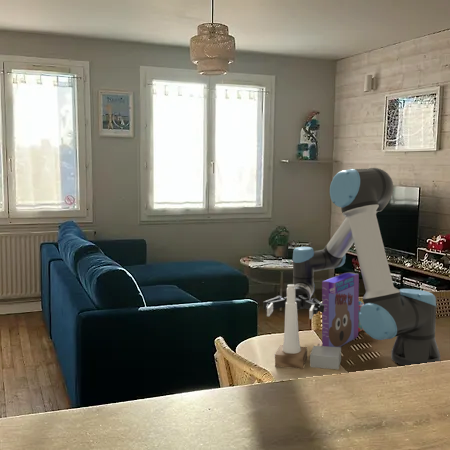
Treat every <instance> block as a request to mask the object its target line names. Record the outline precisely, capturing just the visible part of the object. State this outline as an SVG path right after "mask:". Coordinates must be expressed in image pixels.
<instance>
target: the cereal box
mask: <svg viewBox="0 0 450 450" xmlns="http://www.w3.org/2000/svg"><path fill="white" fill-rule="evenodd" d="M359 274H360V273H357V272H356V273H355V272H353V271H348V272H344V273H341V274H339V275H336V276H333V277H330V278H328V279H326V280H322V282H321V303H322V304H324V312H323V313H321V334H322V335H321V339H322V340H321V346H328V347H341V348H342V347H344V346H345V345H346V344H348V343H350V342H353V341H354V340H356V339H357V337H358V338H359V332H358V308H359V301H360V299H359V296H360V295H359V291H360V290H359V286H360V283H359V282H360V278H359V277H360V275H359Z"/></svg>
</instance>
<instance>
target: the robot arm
mask: <svg viewBox="0 0 450 450" xmlns="http://www.w3.org/2000/svg"><path fill="white" fill-rule="evenodd" d="M393 193H394V182H393V180H392V177H391V176H390V174H389V173H388V172H386V170H383V169H381V168H378V167H370V168H349V169H343V170H340V171H338V172H337V173H336V174H335V175H334V176H333V178H332V181H331V182H330V186H329V196H330V197H329V198H330V200H331V202H332V203H333V204H334V205H335V206H336V207H339V208H340V210H341V214H342V216H344V217H345V218H344V220H343V221H342V223H341V224H340V225H339V227H338V228H337V230H336V231H335V232H334V234H333V236H332V237H331V238H330V239H329V241H328V242H327V244H326V245H325V246H324V248H323V249H319V250H314V248H313V247H310V246H299V247H295V248H294V249H293V251H292V252H293V253H292V268H293V269H292V272H293V275H292V284H293V285H294V288H295V302H296V303H297V310H303V309H304V310H305V309H307V310H308V311H309V317H308V319H309V320H312V319H313V317H314V315H317V314H318V313H319V312H320V313H321V314H322V313H323V312H324V304H322V301H320V300H319V299H318V297H313V295H314V293H315V291H316V290H315V289H316V288H315V287H316V285H315V282H314V281H315V279H314V277H315V276H314V274H315V272H320V271H325V270H331V269H337V268H340V267H342V266H344V264H345V263H346V258H347V257H346V254H347V252H348V251H350V248H351V247H352V246H353V245H354V246H355V252H356V256H357V260H358V264H359V268H360V272H361V276H362V282H363V284H364V285H363V286H364V289H365V294H364V295H363V297H362V302H363V303H364V305H363V306H362V307H361V309H360V312H359V320H360V324H361V326H362V328H363V331H364V332H365V333H366V334H367V335H369V337H371V338H372V339H373V340H377V341H378V340H379V341H382V340H391V339H393V338H395V337H396V338H395V341H394V344H393V345H392V349H391V351H390V352H391V355H390V356H391V360H392V362H394V361H395V362H394V363H395V364H397V363H398V365H400V366H403V365H411V364H420V363H427V362H435V361H440V362H441V353H440V350H439V346H438V344H437V341H436V322H437V319H436V315H437V313H436V312H437V297H436V296H435V294H433V293H432V292H429V291H426V290H421V289H414V288H400V289H398V288H397V287H395V286H394V283H393V282H394V281H393V278H392V275H391V270H390V266H389V261H388V258H387V254H386V250H385V245H384V242H383V238H382V234H381V233H382V232H381V230H380V225H379V221H378V218H377V213H378V212H382V211H383V210H384V209H385V208H386V206H387V205H388V204H389V202H390V200H391V199H392V196H393ZM312 297H313V298H312ZM286 302H287V296H284V297H282V295H276V296H275V297H273V298H270V299H267V300H264V301H262V305H263V306H262V309H263V310H265V312H266V317H270V316H271V315H272V314H273V312H274V310H276V309H281V308H285V304H286Z"/></svg>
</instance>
